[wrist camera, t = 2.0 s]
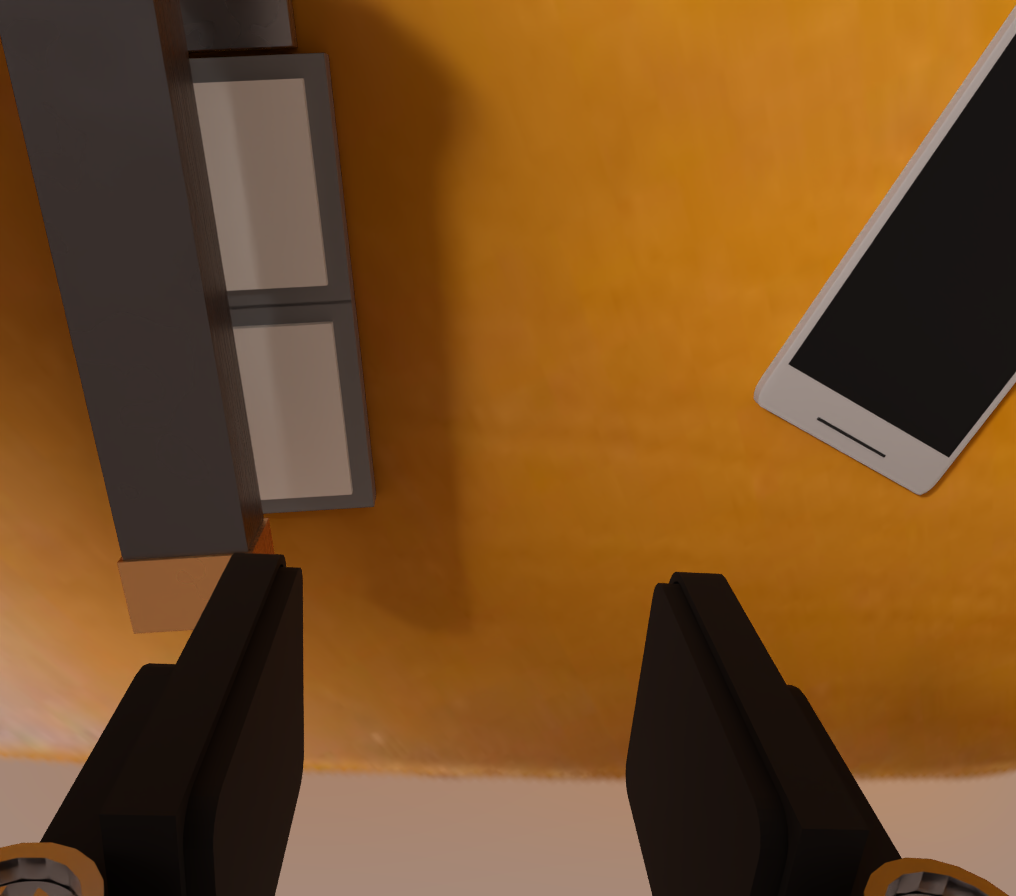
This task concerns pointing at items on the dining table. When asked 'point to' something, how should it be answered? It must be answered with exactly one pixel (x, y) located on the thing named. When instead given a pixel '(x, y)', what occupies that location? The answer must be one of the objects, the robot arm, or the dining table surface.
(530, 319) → the dining table surface
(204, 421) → the swing arm
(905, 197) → the smartphone
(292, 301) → the label tile
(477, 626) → the dining table surface
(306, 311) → the label tile
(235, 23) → the pivot post base
